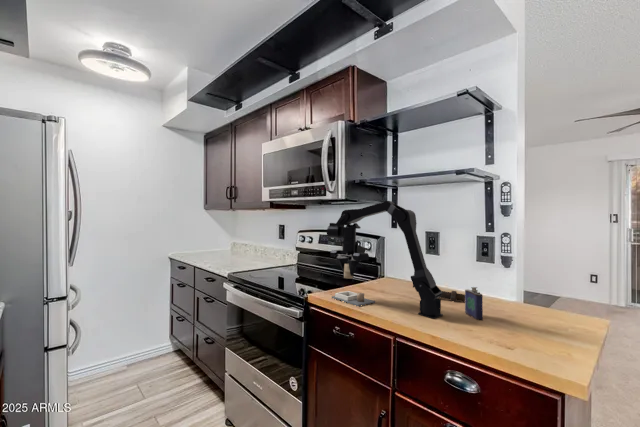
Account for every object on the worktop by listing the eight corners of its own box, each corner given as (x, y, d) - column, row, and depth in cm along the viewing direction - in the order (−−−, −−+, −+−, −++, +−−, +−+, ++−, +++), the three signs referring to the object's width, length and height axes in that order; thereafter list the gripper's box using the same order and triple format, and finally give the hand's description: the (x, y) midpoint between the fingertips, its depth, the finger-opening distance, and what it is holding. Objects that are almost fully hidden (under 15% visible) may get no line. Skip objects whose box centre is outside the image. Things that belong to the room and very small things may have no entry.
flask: (463, 312, 117) (463, 284, 117) (471, 312, 117) (471, 284, 117) (477, 320, 108) (477, 289, 108) (485, 320, 108) (485, 289, 108)
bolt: (464, 307, 132) (427, 301, 140) (465, 299, 136) (430, 293, 143) (464, 296, 130) (427, 291, 137) (465, 289, 133) (429, 283, 141)
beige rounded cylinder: (355, 278, 134) (355, 264, 134) (348, 278, 131) (348, 264, 131) (348, 276, 137) (348, 263, 137) (342, 277, 134) (342, 263, 135)
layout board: (375, 303, 128) (375, 293, 128) (357, 306, 122) (358, 297, 122) (348, 295, 141) (348, 286, 141) (331, 298, 135) (331, 289, 135)
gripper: (378, 239, 132) (377, 276, 132) (347, 237, 147) (347, 270, 146) (359, 240, 125) (359, 279, 125) (329, 237, 140) (329, 272, 140)
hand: (348, 275), depth 134 cm, fingers closed on beige rounded cylinder, 4 cm apart
